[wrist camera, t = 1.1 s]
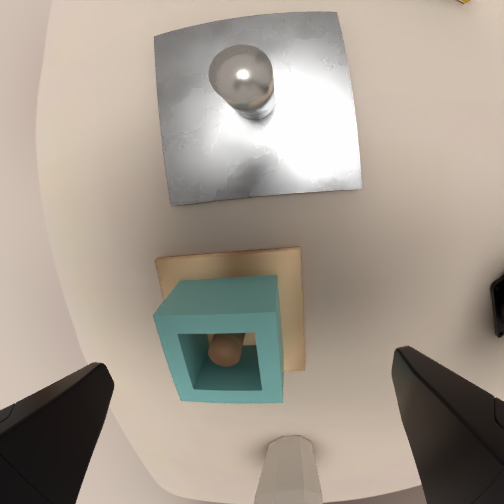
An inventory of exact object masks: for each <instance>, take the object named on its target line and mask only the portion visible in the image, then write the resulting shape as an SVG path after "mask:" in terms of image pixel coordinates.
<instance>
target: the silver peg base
mask: <svg viewBox="0 0 504 504" xmlns="http://www.w3.org/2000/svg"><path fill="white" fill-rule="evenodd" d="M154 49H155V67H156V82H157V95H158V107H159V117H160V127H161V136H162V145H163V154H164V162H165V169H166V177H167V184H168V191H169V197H170V204H171V206H177V205H185V204H193V203H201V202H210V201H218V200H227V199H237V198H247V197H257V196H268V195H280V194H292V193H305V192H320V191H336V190H355V189H362V184H361V168H360V155H359V143H358V133H357V124H356V116H355V108H354V100H353V93H352V86H351V80H350V74H349V68H348V62H347V57H346V52H345V47H344V42H343V37H342V32H341V28H340V23H339V19H338V15H337V12H290V13H275V14H264V15H254V16H246V17H239V18H232V19H226V20H220V21H215V22H210V23H205V24H200V25H195V26H191V27H187V28H183V29H179V30H175V31H171V32H167V33H164V34H160V35H157V36H154Z"/></svg>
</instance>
